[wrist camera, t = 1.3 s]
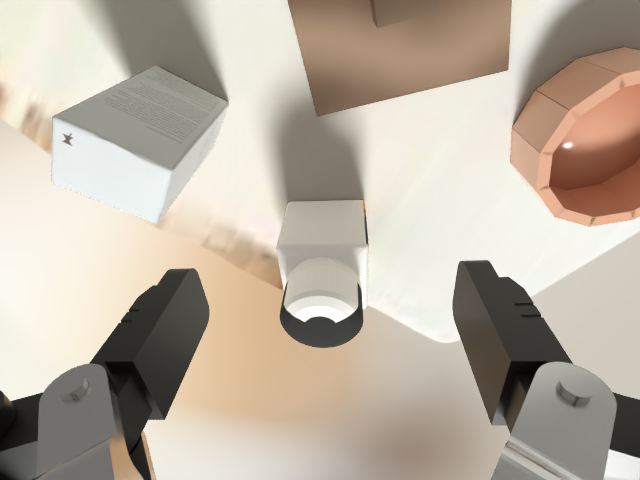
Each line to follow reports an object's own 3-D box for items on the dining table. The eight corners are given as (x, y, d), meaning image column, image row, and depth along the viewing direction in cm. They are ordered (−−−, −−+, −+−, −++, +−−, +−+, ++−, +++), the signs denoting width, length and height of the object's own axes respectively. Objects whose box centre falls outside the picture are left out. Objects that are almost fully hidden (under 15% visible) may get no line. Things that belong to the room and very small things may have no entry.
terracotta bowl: (514, 73, 26) (546, 91, 22) (694, 29, 23) (766, 40, 19) (508, 203, 32) (531, 235, 28) (649, 177, 30) (697, 209, 26)
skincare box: (145, 114, 29) (45, 182, 19) (155, 63, 27) (47, 112, 17) (216, 148, 30) (156, 227, 21) (232, 102, 28) (173, 168, 18)
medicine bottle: (364, 258, 37) (370, 359, 27) (295, 259, 37) (277, 358, 28) (364, 198, 32) (372, 291, 23) (287, 200, 33) (262, 292, 23)
